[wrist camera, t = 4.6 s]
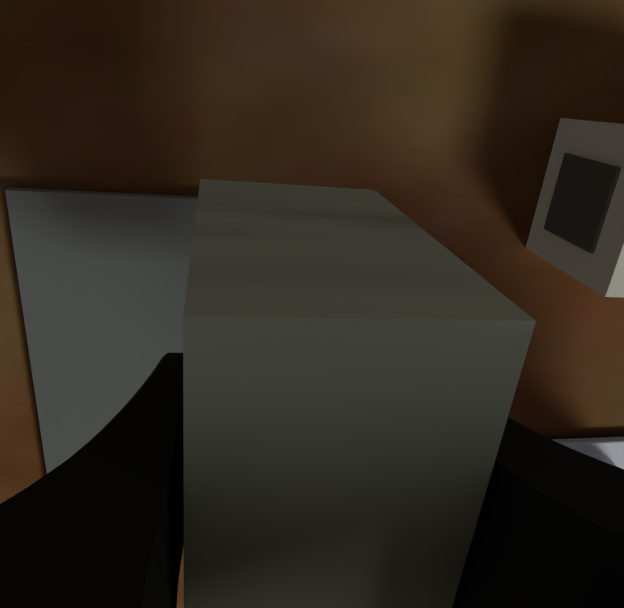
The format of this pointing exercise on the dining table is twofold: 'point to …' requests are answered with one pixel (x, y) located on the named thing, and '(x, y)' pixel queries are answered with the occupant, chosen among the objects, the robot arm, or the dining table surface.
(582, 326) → the dining table surface
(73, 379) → the slate mat
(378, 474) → the pale green block
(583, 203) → the marked cube
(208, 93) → the dining table surface
